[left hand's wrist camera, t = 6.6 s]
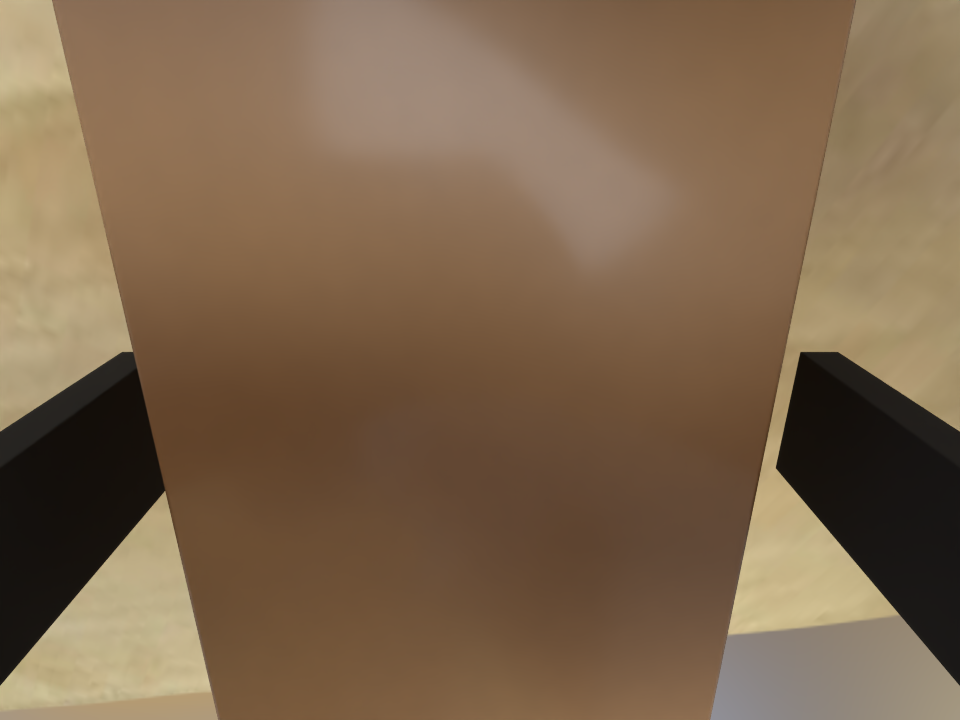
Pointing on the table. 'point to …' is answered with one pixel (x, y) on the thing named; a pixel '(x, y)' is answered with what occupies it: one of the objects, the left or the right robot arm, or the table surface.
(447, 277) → the box
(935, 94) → the table surface
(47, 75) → the table surface
